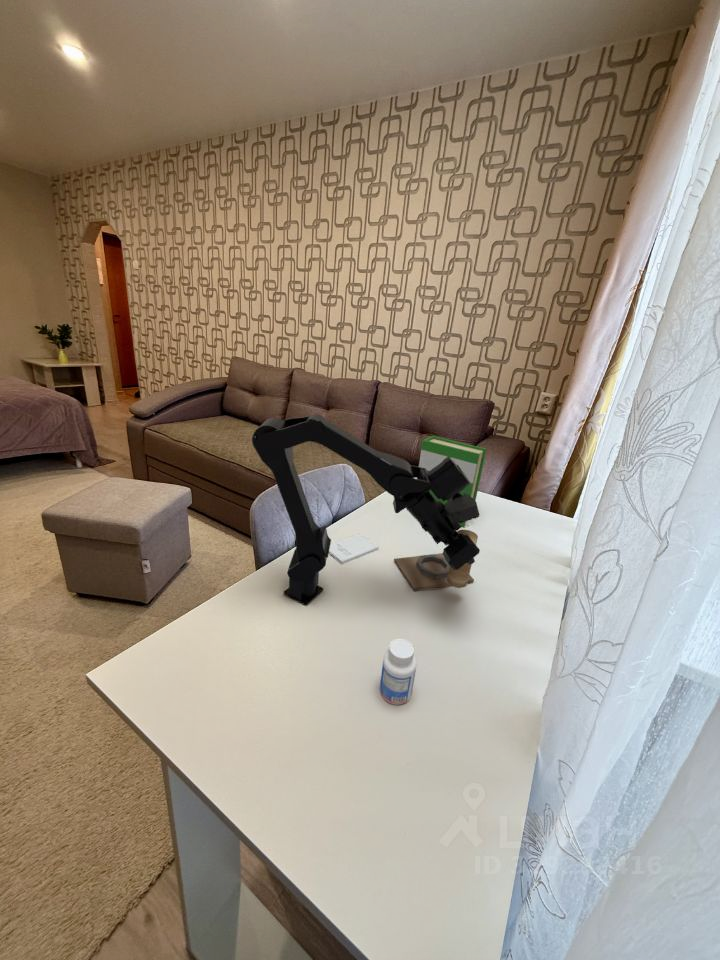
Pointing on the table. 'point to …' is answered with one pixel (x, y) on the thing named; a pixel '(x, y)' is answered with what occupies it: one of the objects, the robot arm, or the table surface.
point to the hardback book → (461, 454)
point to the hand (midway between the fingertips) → (468, 556)
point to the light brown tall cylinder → (462, 574)
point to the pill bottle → (398, 672)
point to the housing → (425, 571)
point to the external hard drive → (352, 548)
